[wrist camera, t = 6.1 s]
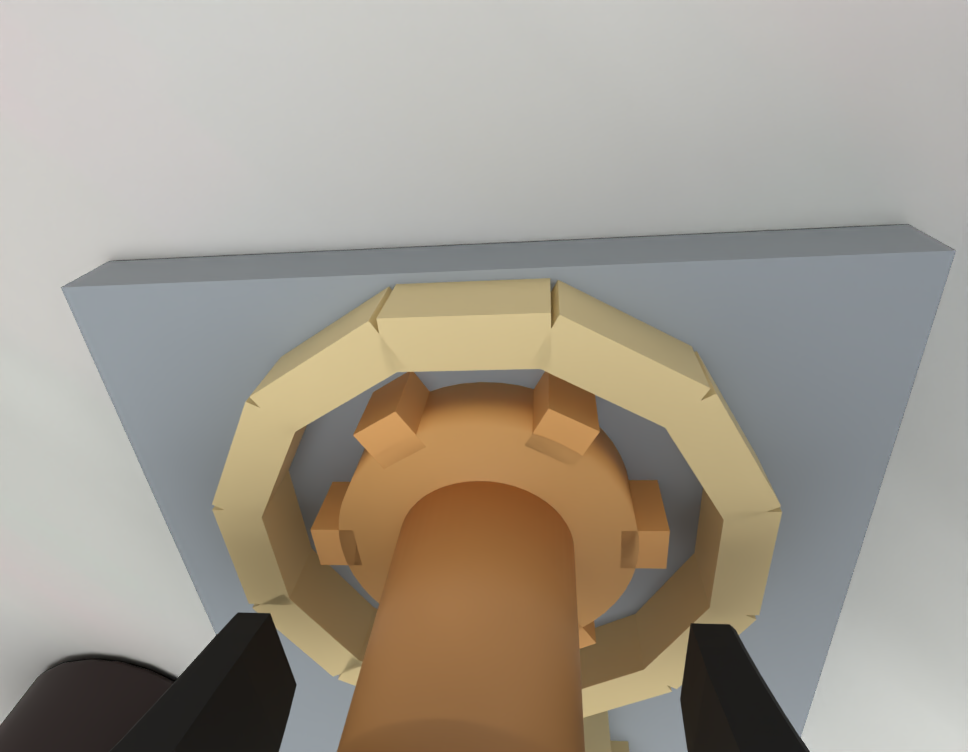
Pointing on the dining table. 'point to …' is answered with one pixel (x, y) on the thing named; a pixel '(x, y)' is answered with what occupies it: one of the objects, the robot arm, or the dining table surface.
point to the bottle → (81, 707)
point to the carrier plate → (522, 361)
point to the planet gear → (484, 561)
